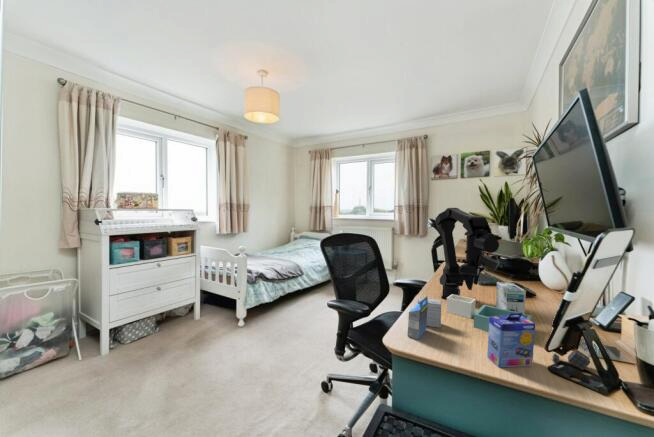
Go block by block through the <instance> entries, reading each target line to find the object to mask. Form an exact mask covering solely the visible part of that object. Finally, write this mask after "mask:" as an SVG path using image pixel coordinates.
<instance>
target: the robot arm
mask: <svg viewBox="0 0 654 437" xmlns="http://www.w3.org/2000/svg"><path fill="white" fill-rule="evenodd" d="M457 222H459V223H461V224H462V227H463V228H464V230H465V232H464V236H466V246H465V247H466V248H465V250H464V254H465V260H463V261H464V263H462V264H461V265H460V264H459V263H458V260H457V259H458V258H457V254H456V247H455V241H454V240H455V238H454V235H453V234H454V233H453V232H454V229H455V228H456V223H457ZM434 223H435V225H436V230H438V232H439V233H440V234H441V241H442V246H443V247H442V248H443V255H444V262H445V265H444V267H443V268H442V274H441V276H440V278H438V279H439V284H440V285H441V286H442V295H441V296H440V298H441V299H444V300H447V297H449V296H450V295H451V294H454V295H458V296H461V289H460V287H463V285H464V283H465V286H466V287H467V289H468V291H472V289H473V286H474V285H476V286H477V285H478V284H479V283H478V282H479V279H480V276H481V275H482V274H481V273H482V272H483V271H484V270H486V268H489V269H490V270H492V271H496V270H497V269H498V267H499V265H500V263H501V261H500V260H499V258H498V255H495V254H492V253H495V252H497V251H498V250H499V246H500V242H499V240H498V239H497V238H496V237H495V234H494V233H493V232H492V228H491V227H490V224H489V222H488V220H487V218H486V217H485V216H482V215H473V214H470V213H468V212H466V211H464V210H462V209H460V208H459V207H447V208H446V209H445V210H444V211H442V212H441V213H439V214H438V215H437V216H436V217H435V220H434ZM485 253H489V254H492V255H491V256H489V255H486V254H485Z"/></svg>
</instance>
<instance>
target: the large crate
mask: <svg viewBox="0 0 654 437" xmlns="http://www.w3.org/2000/svg"><path fill="white" fill-rule="evenodd" d="M510 313H518V312H514V311H510V310H505V309H501V308H497V307H496V306H492V305H487V304H483V305H482V306H481V307H480V308H479V309H478V310H477V311H475V314H474V316H473V328H475V329H477V330H478V329H479V330H481V331H485V332H488V333H489V316H501V315H503V316H508V315H509V314H510ZM522 316H523V317H525V318H527V319H529V320H530V321H532V320H533V319H532V318H533V316H532V315H531V314H526V313H525V314H522ZM532 322H533V321H532Z"/></svg>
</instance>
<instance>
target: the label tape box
mask: <svg viewBox="0 0 654 437" xmlns="http://www.w3.org/2000/svg"><path fill="white" fill-rule="evenodd" d="M423 298H424V299H423V300H422V301H420V302H419V304H418V303H416V304H415V306H414V307H413V308H412V309H411V310H409V312H408V317H407V318H408V320H407V337H409V338H411V337H412V339H414V338H415V340H420V339H421V337H422V335H423V334H424V333H425V331H426V330H427V326H426V322H427V305H428V299H429V296H428V295H426V296H425V297H423ZM423 302H425V303H423Z"/></svg>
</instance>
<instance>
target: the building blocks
mask: <svg viewBox="0 0 654 437" xmlns="http://www.w3.org/2000/svg"><path fill="white" fill-rule="evenodd" d="M575 349H576V350H574V349H573V350H572V352H571V353H570V354H568V356H567V361H568V363H570V364H571V365H573V366H574V367H575V368H577V367H578V368H577V369H579V368H580V369H583V371H584V370H585V369H586V368H587V367H588V365H590V364H591V358H590V356H588V355H586V353H585V354H584V353H583V352H581V351H580V350H578V349H577V348H575ZM552 362H554V363H555V364H558V363H559V362H560V356H559V354H557V353H554V354H553V355H552ZM580 369H579V370H580Z"/></svg>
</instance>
